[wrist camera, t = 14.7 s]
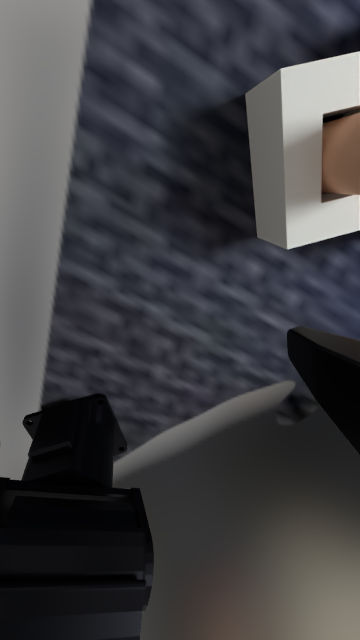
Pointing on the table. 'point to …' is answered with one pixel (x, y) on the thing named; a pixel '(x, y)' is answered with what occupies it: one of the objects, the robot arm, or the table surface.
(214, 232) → the table surface
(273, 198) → the hole block
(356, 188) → the dowel
